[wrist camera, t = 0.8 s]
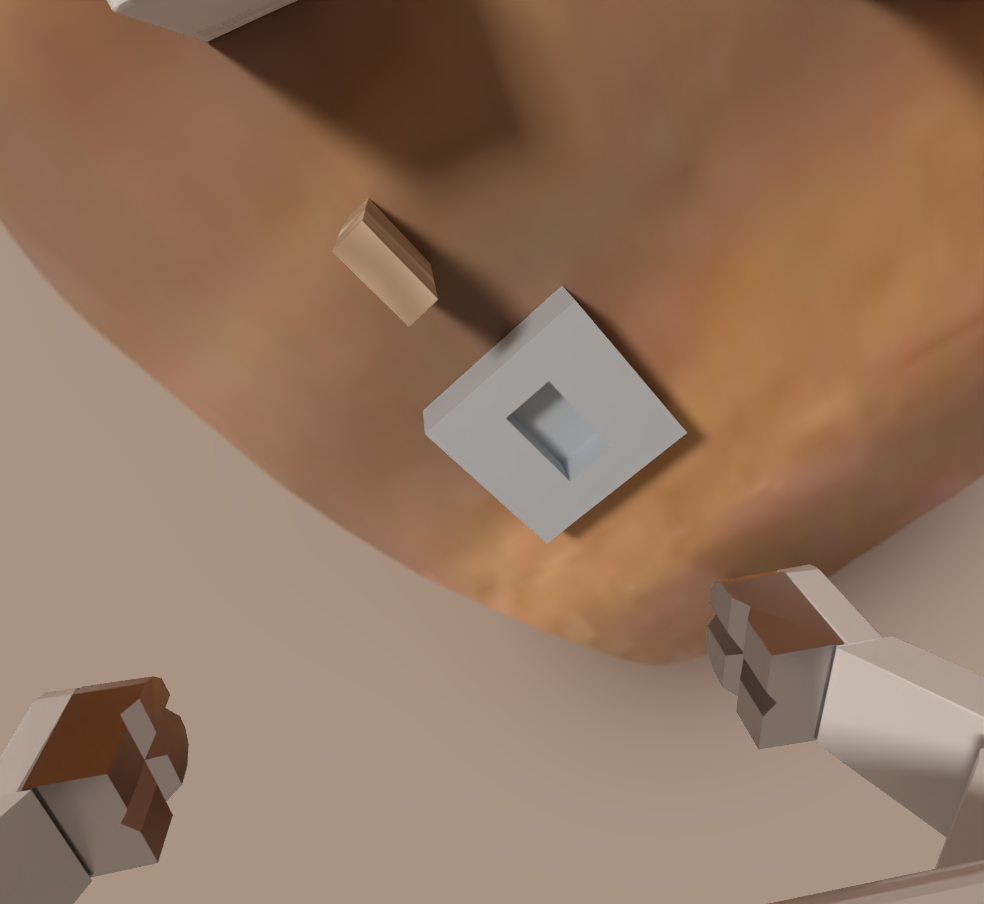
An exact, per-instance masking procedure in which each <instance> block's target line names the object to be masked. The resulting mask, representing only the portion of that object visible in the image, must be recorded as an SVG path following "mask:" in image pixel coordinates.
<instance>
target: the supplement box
mask: <svg viewBox="0 0 984 904" xmlns="http://www.w3.org/2000/svg"><path fill="white" fill-rule="evenodd" d="M107 1H108V3H109V5H110V7H111V8H112V10H113V11H114V12H117V13H119V14H122V15H125V16H128V17H132V18H134V19H137V20H140V21H144V22H146V23H149V24H152V25H156V26H158V27H161V28H164V29H167V30H170V31H173V32H176V33H180V34H183V35H185V36H189V37H191V38H194V39H197V40H201V41H204V42H208V41H210V40H212V39H214V38H217V37H219V36H221V35H223V34H225V33H228V32H230V31H232V30H234V29H236V28H238V27H240V26H242V25H245V24H247V23H249V22H251V21H253V20H256V19H258V18H260V17H262V16H264V15H266V14H268V13H271V12H273V11H275V10H277V9H279V8H282V7H284V6H286V5H288V4H290V3H293V2H295V1H297V0H107Z"/></svg>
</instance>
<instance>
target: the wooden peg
mask: <svg viewBox="0 0 984 904" xmlns="http://www.w3.org/2000/svg"><path fill="white" fill-rule="evenodd" d="M332 252H333V253H334V254H335V255H336V256H337V257H338V258H339V259H340V260H341V261H342V262H343V263H344V264H345V265H346V266H347V267H348V268H350V269H351V270H352V271H353V272H354V273H355V274H356V275H357V276H358V277H359V278H360V279H361V280H362V281H363V282H364V283H365V284H366V285H367V286H368V287H369V288H370V289H371V290H372V291H373V292H374V293H375V294H376V295H377V296H378V297H379V298H380V299H381V300H382V301H383V302H384V303H385V304H386V305H387V306H388V307H389V308H390V309H391V310H392V311H393V312H394V313H395V314H396V315H397V316H398V317H399V318H400V319H401V320H402V321H403V322H404V323H406V324H407V325H408V326H411V325H412V324H413V323H414V322H415V321H416V320H417V319H418V318H419V317H420V316H421V315H422V314H423V313H424V312H425V311H426V310H427V309H428V308H430V307H431V306H432V305H433V304H434V303H435V302H436V301H437V300H438V296H437V292H436V287H435V283H434V278H433V274H432V269H431V264H430V263H429V262H428V261H427V260H426V259H425V258H424V256H423V255H422V254H421V253H420V252H419V251H418V250H417V249H416V248H415V247H414V246H413V245H412V244H411V243H410V242H409V241H408V240H407V238H406V237H405V236H404V235H403V234H402V233H401V232H400V231H399V230H398V229H397V228H396V227H395V226H394V225H393V224H392V223H391V221H390V220H389V219H388V218H387V217H386V216H385V215H384V214H383V213H382V212H381V211H380V210H379V209H378V208H377V207H376V206H375V205H374V203H373V202H372V201H371V200H370V199H369V198H368V199H367V200H366V201H365V202H364V203H363V204H362V205H361V206H360V207H359V208H358V209H357V210H356V211H355V212H354V213H353V214H352V215H351V216H350V217H349V218H348V219H347V220H346V221H345V222H344V224H343V226H342V229H341V231H340V234H339V236H338V238H337V241H336V243H335V246H334V248H333V251H332Z"/></svg>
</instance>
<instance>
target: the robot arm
mask: <svg viewBox="0 0 984 904" xmlns="http://www.w3.org/2000/svg"><path fill="white" fill-rule="evenodd" d="M709 603H710V605H711V607H712V608H713V610H714V611H715V613H716V615H715V616H714V617H713V619H712V620H711V621H710V622H709V624H708V625H707V647H708V652H709V657H710V661H711V664H712V666H713V669H714V672H715V674H716V676H717V678H718V679H719V681H720V683H721V685H722V687H724V688H725V689H727V690H729V691H730V692H732V693H734V694H735V695H737V696H738V702H737V713H738V715H739V716H740V718H741V720H742V721H743V723H744V725H745V727H746V728H747V730H748V732H749V734H750V735H751V737H752V739H753V740H754V742H755V744H756V745H757V747H758V749H763V748H769V747H775V746H782V745H788V744H794V743H801V742H807V741H813V740H817V744H818V745H820V746H821V747H823V748H824V749H825V750H827V751H828V752H829V753H831V754H832V755H833V756H835V757H836V758H838V759H839V760H840V761H842V762H843V763H844V764H846V765H847V766H849V767H850V768H851V769H853V770H854V771H856V772H857V773H858V774H860V775H861V776H863V777H864V778H865V779H867V780H868V781H869V782H871V783H872V784H874V785H875V786H876V787H878V788H879V789H880V790H882V791H883V792H885V793H886V794H887V795H889V796H890V797H892V798H893V799H894V800H896V801H897V802H898V803H900V804H901V805H903V806H904V807H905V808H907V809H908V810H909V811H911V812H912V813H914V814H915V815H916V816H918V817H919V818H920V819H922V820H923V821H925V822H926V823H928V824H929V825H930V826H932V827H933V828H934V829H936V830H937V831H939V832H940V833H941V834H943V835H944V836H945V837H947V838H946V841H945V843H944V846H943V849H942V851H941V854H940V857H939V859H938V862H937V865H936V867H935V869H933V870H928V871H924V872H918V873H914V874H909V875H904V876H899V877H895V878H890V879H885V880H880V881H875V882H871V883H865V884H861V885H856V886H851V887H846V888H841V889H837V890H832V891H827V892H823V893H817V894H813V895H808V896H803V897H798V898H794V899H789V900H784V901H779V902H774V903H769V904H984V676H982V675H980V674H977V673H975V672H973V671H970V670H968V669H966V668H964V667H962V666H960V665H957V664H955V663H952V662H950V661H948V660H946V659H944V658H941V657H939V656H937V655H935V654H932V653H930V652H928V651H926V650H923V649H921V648H919V647H916V646H914V645H912V644H910V643H908V642H905V641H903V640H901V639H898V638H896V637H894V636H890V637H884V638H883V637H882V636H881V635H880V634H879V633H878V632H877V631H876V630H875V629H874V628H873V626H872V625H871V624H870V623H869V622H868V621H867V620H866V619H865V618H864V617H863V616H862V615H861V614H860V613H859V612H858V610H857V609H856V608H854V606H853V605H852V604H851V603H850V602H849V601H848V600H847V599H846V598H845V597H844V596H843V594H842V593H841V592H840V591H839V590H838V589H837V588H836V587H835V586H834V585H833V584H832V583H831V582H830V581H829V580H828V578H827V577H826V576H825V575H824V574H823V573H822V572H821V571H820V570H819V569H818V568H817V567H814V566H812V565H810V564H809V565H804V566H798V567H793V568H787V569H782V570H778V571H777V572H775V571H773V572H768V573H762V574H756V575H751V576H745V577H739V578H734V579H728V580H722V581H717V582H714V583H713V585H712V587H711V589H710V598H709ZM169 696H170V694H169V692H168V690H167V688H166V686H165V684H164V682H163V680H162V679H161V678H158V677H146V678H139V679H132V680H125V681H118V682H111V683H105V684H97V685H91V686H84V687H81V688H76V689H69V690H62V691H54V692H47V693H45V694H43V695H42V696H40V697H39V698H37V699H36V700H35V701H34V702H33V704H32V705H31V707H30V709H29V710H28V712H27V714H26V715H25V717H24V719H23V720H22V722H21V724H20V725H19V727H18V728H17V730H16V732H15V733H14V735H13V737H12V738H11V741H10V742H9V744H8V745H7V747H6V748H5V750H4V752H3V754H2V756H1V757H0V904H74V902H75V901H76V900H77V899H78V898H79V896H80V895H81V893H83V891H84V890H85V889H86V888H87V886H88V885H89V884H90V883H91V881H92V880H91V878H90V877H95V876H99V875H104V874H108V873H113V872H118V871H122V870H127V869H132V868H135V867H141V866H145V865H150V864H154V863H158V861H159V857H160V854H161V851H162V848H163V844H164V841H165V838H166V835H167V832H168V829H169V825H170V822H171V819H172V816H173V814H172V812H171V811H170V809H169V806H168V805H167V803H166V801H167V800H168V799H169V798H170V797H171V796H172V795H173V794H174V793H175V791H177V789H178V788H179V787H180V786H181V785H182V783H183V779H184V776H185V772H186V768H187V762H188V739H187V734H186V729H185V726H184V724H183V722H182V720H181V717H180V716H178V715H177V714H175V713H173V712H171V711H169V710H168V709H166V708H165V707H166V704H167V701H168V699H169Z"/></svg>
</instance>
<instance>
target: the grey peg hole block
mask: <svg viewBox="0 0 984 904" xmlns="http://www.w3.org/2000/svg"><path fill="white" fill-rule="evenodd" d="M423 418H424V429H425V435H427V436H428V437H429V438H430V439H431V440H432V441H433V442H434V443H435V444H437V445H438V446H439V447H440V448H441V449H442V450H443V451H444V452H445V453H447V454H448V455H449V456H450V457H451V458H452V459H453V460H454V461H455V462H457V463H458V464H459V465H460V466H461V467H462V468H463V469H464V470H465V471H467V472H468V473H469V474H470V475H471V476H472V477H473V478H474V479H475V480H477V481H478V482H479V483H480V484H481V485H482V486H483V487H484V488H485V489H487V490H488V491H489V492H490V493H491V494H492V495H493V496H494V497H496V498H497V499H498V500H499V501H500V502H501V503H502V504H503V505H504V506H506V507H507V508H508V509H509V510H510V511H511V512H512V513H513V514H514V515H516V516H517V517H518V518H519V519H520V520H521V521H522V522H523V523H524V524H526V525H527V526H528V527H529V528H530V529H531V530H532V531H533V532H534V533H536V534H537V535H538V536H539V537H540V538H541V539H542V540H543V541H544V542H546V543H548V542H550V541H551V540H552V539H553V538H555V537H556V536H557V535H559V534H560V533H561V532H562V531H564V530H565V529H566V528H567V527H569V526H570V525H571V524H572V523H574V522H575V521H576V520H578V519H579V518H580V517H581V516H583V515H584V514H585V513H586V512H588V511H589V510H590V509H591V508H593V507H594V506H595V505H596V504H598V503H599V502H600V501H602V500H603V499H604V498H605V497H607V496H608V495H609V494H610V493H612V492H613V491H614V490H615V489H617V488H618V487H619V486H621V485H622V484H623V483H624V482H626V481H627V480H628V479H629V478H631V477H632V476H633V475H634V474H636V473H637V472H638V471H640V470H641V469H642V468H643V467H645V466H646V465H647V464H648V463H650V462H651V461H652V460H653V459H655V458H656V457H657V456H659V455H660V454H661V453H662V452H664V451H665V450H666V449H667V448H669V447H670V446H671V445H672V444H674V443H675V442H676V441H678V440H679V439H680V438H681V437H683V436H684V435H685V434H686V433H687V432H686V431H685V430H684V428H683V427H682V426H681V425H680V424H679V423H678V421H677V420H676V419H675V418H674V417H673V415H672V414H671V413H670V412H669V411H668V410H667V408H666V407H665V406H664V405H663V404H662V402H661V401H660V400H659V399H658V398H657V396H656V395H655V394H654V393H653V392H652V391H651V389H650V388H649V387H648V386H647V385H646V383H645V382H644V381H643V380H642V379H641V378H640V376H639V375H638V374H637V373H636V372H635V370H634V369H633V368H632V367H631V366H630V364H629V363H628V362H627V361H626V360H625V359H624V357H623V356H622V355H621V354H620V353H619V351H618V350H617V349H616V348H615V347H614V346H613V344H612V343H611V342H610V341H609V340H608V338H607V337H606V336H605V335H604V334H603V333H602V331H601V330H600V329H599V328H598V327H597V325H596V324H595V323H594V322H593V321H592V319H591V318H590V317H589V316H588V315H587V314H586V312H585V311H584V310H583V309H582V308H581V306H580V305H579V304H578V303H577V302H576V301H575V299H574V298H573V297H572V296H571V295H570V294H569V293H568V292H567V290H566V289H565V288H564V287H563V286H561V287H560V288H559V289H557V290H556V291H555V292H554V293H553V294H552V295H551V296H550V297H549V298H547V299H546V300H545V301H544V302H543V303H542V304H541V305H540V306H539V307H537V308H536V309H535V310H534V311H533V312H532V313H531V314H530V315H529V316H527V317H526V318H525V319H524V320H523V321H522V322H521V323H520V324H519V325H517V326H516V327H515V328H514V329H513V330H512V331H511V332H510V333H509V334H507V335H506V336H505V337H504V338H503V339H502V340H501V341H500V342H499V343H497V344H496V345H495V346H494V347H493V348H492V349H491V350H490V351H489V352H487V353H486V354H485V355H484V356H483V357H482V358H481V359H480V360H479V361H477V362H476V363H475V364H474V365H473V366H472V367H471V368H470V369H469V370H467V371H466V372H465V373H464V374H463V375H462V376H461V377H460V378H459V379H457V380H456V381H455V382H454V383H453V384H452V385H451V386H450V387H449V388H447V389H446V390H445V391H444V392H443V393H442V394H441V395H440V396H439V397H437V398H436V399H435V400H434V401H433V402H432V403H431V404H430V405H429V406H427V407H426V408H425V409H424V410H423Z"/></svg>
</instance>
